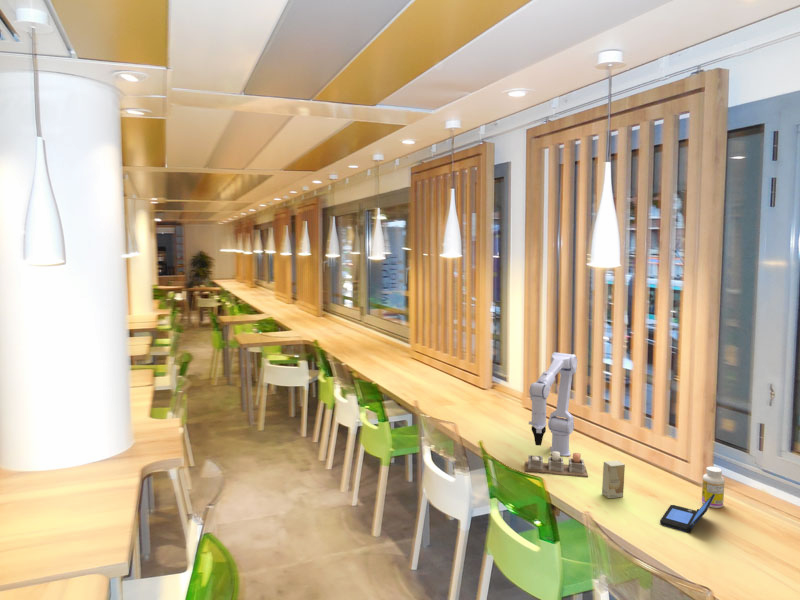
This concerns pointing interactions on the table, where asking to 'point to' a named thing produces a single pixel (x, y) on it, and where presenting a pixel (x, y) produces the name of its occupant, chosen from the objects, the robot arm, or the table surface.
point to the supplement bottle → (713, 487)
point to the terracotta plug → (576, 457)
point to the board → (555, 467)
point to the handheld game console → (684, 516)
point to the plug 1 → (535, 458)
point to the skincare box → (613, 479)
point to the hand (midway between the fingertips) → (538, 444)
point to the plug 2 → (556, 456)
